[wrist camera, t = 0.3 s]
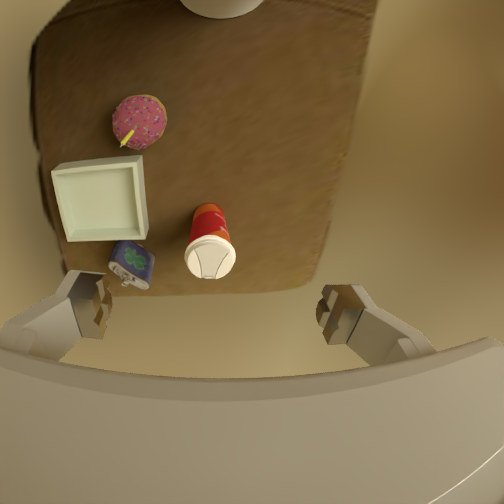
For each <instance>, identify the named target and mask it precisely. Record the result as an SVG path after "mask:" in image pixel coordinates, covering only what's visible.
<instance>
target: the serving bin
mask: <svg viewBox="0 0 504 504" xmlns="http://www.w3.org/2000/svg"><path fill="white" fill-rule="evenodd" d="M51 174H52V179H53V185H54V189H55V194H56V199H57V203H58V207H59V211H60V215H61V219H62V223H63V227H64V230H65V234H66V237H67V240H68V242H71V241H101V240H138V239H146V236H147V233H148V229H149V224H148V216H147V207H146V197H145V186H144V174H143V159H142V155H134V156H121V157H110V158H100V159H91V160H82V161H75V162H68V163H61V164H59V165H58V166H57V167H56V168H54V169H53V170H52V171H51Z"/></svg>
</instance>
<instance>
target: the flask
mask: <svg viewBox="0 0 504 504" xmlns="http://www.w3.org/2000/svg"><path fill="white" fill-rule="evenodd" d="M154 262H155V256H154V254H153V253H152V252H151V251H148V250H146V249H145V248H144V247H143V246H142V245H140V244H137V243H135V241H133V240H116V243H115V245H114V248H113V251H112V253H111V255H110V258H109V261H108V267H109V269H111V270H112V271H113V272H114V273H115V274H116V275H117V276H119V277H120V278H121V280H122V281H124V282H123V283H124V284H125V285H129V284H132V285H134V286H136V287H138V288H141V289H144V290H145V289H148V288H149V287H150V282H151V276H152V271H153V266H154ZM123 283H121V285H122V286H123V287H125V285H124V284H123ZM126 287H127V286H126Z"/></svg>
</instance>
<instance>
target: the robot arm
mask: <svg viewBox="0 0 504 504" xmlns="http://www.w3.org/2000/svg"><path fill="white" fill-rule="evenodd" d="M180 1H181V2H182V3H183V5H184V6H185V7H187V8H188V9H189V10H191V11H192V12H194V13H196V14H199V15H201V16H205V17H209V18H218V19H223V18H232V17H237V16H240V15H243V14H245V13H248V12H250V11H251V10H253V9H254V8H256V7H257V6H258V5H259V4H260V3H261V2H262V1H263V0H180ZM108 286H109V278H108V275H107V274H106V273H97V272H88V271H79V270H70V271H69V272H68V273H67V275H66V276H65V278H64V279H63V281H62V283H61V284H60V286H59V287H58V289H57V291H56V292H55V294H54V296H53V295H50V296H48V297H46V298H45V299H43V300H41V301H39V302H38V303H36V304H34V305H33V306H31V307H30V308H28V309H26V310H24V311H23V312H21V313H19V314H18V315H16V316H15V317H13V318H11V319H10V320H8V321H7V322H5V323H4V325H3V327H2V328H1V330H0V504H504V344H503V343H501V342H499V341H498V340H496V339H494V338H492V337H484V338H481V339H478V340H475V341H472V342H469V343H466V344H462V345H459V346H456V347H452V348H449V349H445V350H442V351H438V352H436V350H435V349H434V347H433V346H432V345H431V343H430V342H429V340H428V339H427V338H426V336H425V335H424V334H423V333H421V332H420V331H418V330H416V329H415V328H413V327H411V326H410V325H408V324H406V323H405V322H403V321H401V320H400V319H398V318H396V317H395V316H393V315H391V314H389V313H388V312H386V311H385V310H383V309H381V308H377V306H376V305H375V304H374V302H373V301H372V299H371V298H370V297H369V295H368V294H367V292H366V291H365V290H364V288H363V287H362V286H361V285H359V284H348V285H325V286H324V288H323V291H322V295H323V298H322V299H321V300H320V301H319V302H318V305H317V308H316V318H317V322H318V324H319V325H320V326H321V327H323V328H324V330H323V335H324V337H325V340H326V342H327V344H328V345H334V344H347V346H349V347H350V348H351V349H352V350H353V351H354V352H355V353H357V354H358V355H359V356H360V357H361V358H362V359H363V360H364V361H366V362H367V363H368V364H369V365H370V366H368V367H362V368H356V369H350V370H343V371H335V372H327V373H318V374H307V375H297V376H282V377H263V378H185V377H167V376H153V375H143V374H133V373H125V372H117V371H109V370H102V369H96V368H90V367H84V366H78V365H73V364H68V363H63V362H58V361H59V360H60V359H61V358H62V357H63V356H64V355H65V354H66V353H67V352H68V351H69V350H70V349H71V348H72V347H73V346H74V345H75V344H76V343H78V341H80V340H81V339H82V337H85V338H94V339H103V337H104V334H105V331H106V328H107V325H106V320H108V319H109V318H110V315H111V312H112V295H111V293H110V291H109V290H108V289H107V288H108Z"/></svg>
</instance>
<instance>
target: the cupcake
mask: <svg viewBox="0 0 504 504" xmlns="http://www.w3.org/2000/svg"><path fill="white" fill-rule="evenodd" d="M112 123H113V132H114V134H115V136H116V138H117V139H118V140H119V141H120V142H121V145H120V147H122V145H125V146H127V147H128V148H131V149H137V150H139V149H144V148H147V147H148V146H149V145H150V144H152V143H154V142H155V141H156V140H157V139H159V138H160V137H161V136H162V134H163V132H164V129H165V126H166V123H167V116H166V110H165V107H164V105H163V104H162V103H161V102H160V101H159V100H158V99H157V98H156V97H154V96H151V95H133V96H130V97H128V98H126V99H124V100H123V101H122V102H121V103H120V104H119V106H118V107H117V109H116V111H115V112H114V114H113V118H112Z"/></svg>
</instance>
